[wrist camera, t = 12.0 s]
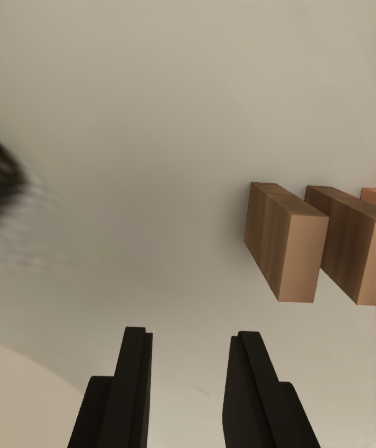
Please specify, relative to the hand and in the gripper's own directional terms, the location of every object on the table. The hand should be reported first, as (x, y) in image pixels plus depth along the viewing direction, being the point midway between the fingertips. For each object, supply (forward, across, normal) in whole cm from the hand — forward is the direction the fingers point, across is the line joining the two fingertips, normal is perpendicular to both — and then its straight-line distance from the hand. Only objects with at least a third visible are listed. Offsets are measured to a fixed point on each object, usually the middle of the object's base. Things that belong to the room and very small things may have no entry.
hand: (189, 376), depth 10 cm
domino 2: (+19, -11, 0) cm, 22 cm away
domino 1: (+19, -6, 0) cm, 20 cm away
